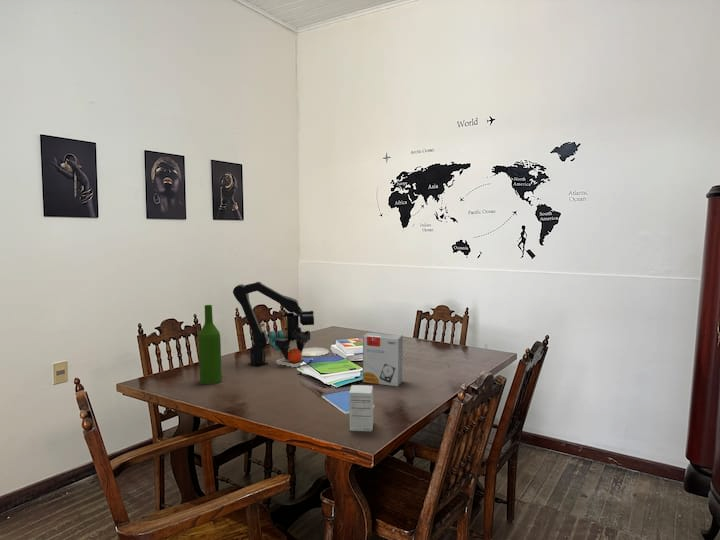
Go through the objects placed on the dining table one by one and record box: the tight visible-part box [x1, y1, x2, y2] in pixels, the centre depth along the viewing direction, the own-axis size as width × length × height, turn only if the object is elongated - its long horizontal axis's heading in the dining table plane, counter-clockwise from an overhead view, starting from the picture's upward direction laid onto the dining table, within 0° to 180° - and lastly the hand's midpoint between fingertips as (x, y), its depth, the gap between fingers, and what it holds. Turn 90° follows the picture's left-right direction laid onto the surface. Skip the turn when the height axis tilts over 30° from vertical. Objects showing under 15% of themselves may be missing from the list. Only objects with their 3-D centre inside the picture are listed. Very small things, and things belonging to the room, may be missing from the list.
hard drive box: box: [362, 332, 404, 387], centre depth 199 cm, size 16×8×20 cm, turn 70°
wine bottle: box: [197, 304, 223, 385], centre depth 201 cm, size 9×9×32 cm
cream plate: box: [302, 347, 330, 357], centre depth 247 cm, size 16×16×1 cm
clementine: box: [287, 348, 303, 364], centre depth 229 cm, size 8×7×7 cm
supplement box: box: [349, 384, 374, 432], centre depth 154 cm, size 7×7×13 cm
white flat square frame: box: [275, 357, 303, 368], centre depth 229 cm, size 11×12×2 cm
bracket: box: [268, 330, 285, 351], centre depth 261 cm, size 18×7×8 cm, turn 24°
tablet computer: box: [321, 390, 375, 415], centre depth 177 cm, size 19×13×1 cm, turn 30°
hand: (293, 357), depth 229 cm, fingers open, 9 cm apart
